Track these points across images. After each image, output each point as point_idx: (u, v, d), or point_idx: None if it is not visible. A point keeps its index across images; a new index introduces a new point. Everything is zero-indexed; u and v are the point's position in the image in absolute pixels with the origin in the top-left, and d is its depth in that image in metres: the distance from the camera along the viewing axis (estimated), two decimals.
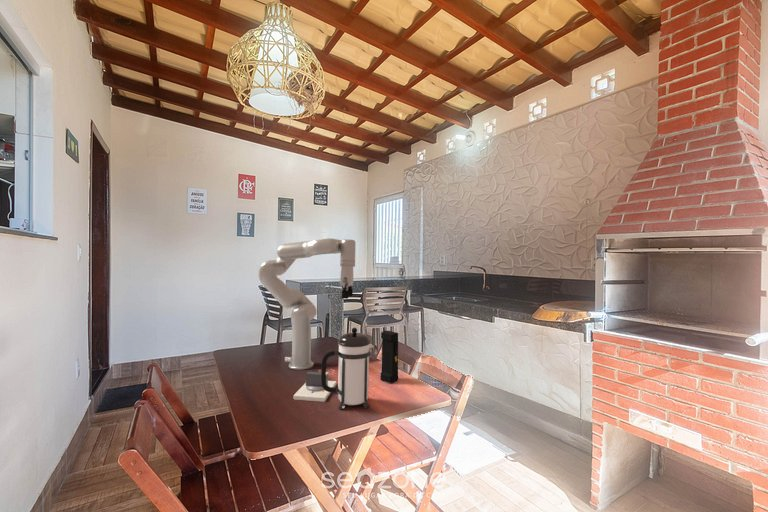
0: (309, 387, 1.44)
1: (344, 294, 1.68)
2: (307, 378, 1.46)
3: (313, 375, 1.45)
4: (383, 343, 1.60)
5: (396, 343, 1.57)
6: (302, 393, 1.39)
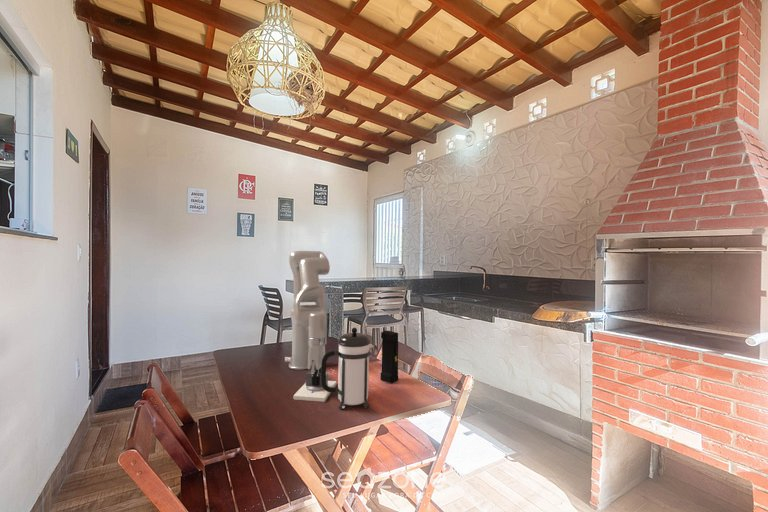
0: (309, 387, 1.44)
1: (314, 381, 1.44)
2: (307, 378, 1.46)
3: None
4: (383, 343, 1.60)
5: (396, 343, 1.57)
6: (302, 393, 1.39)
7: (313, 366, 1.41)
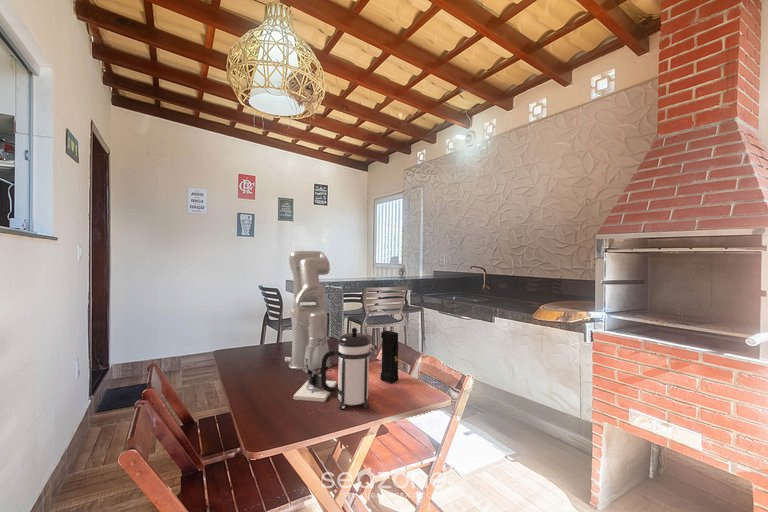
0: (308, 385, 1.46)
1: (311, 380, 1.44)
2: (309, 376, 1.48)
3: None
4: (383, 343, 1.60)
5: (396, 343, 1.57)
6: (302, 393, 1.39)
7: (305, 364, 1.43)
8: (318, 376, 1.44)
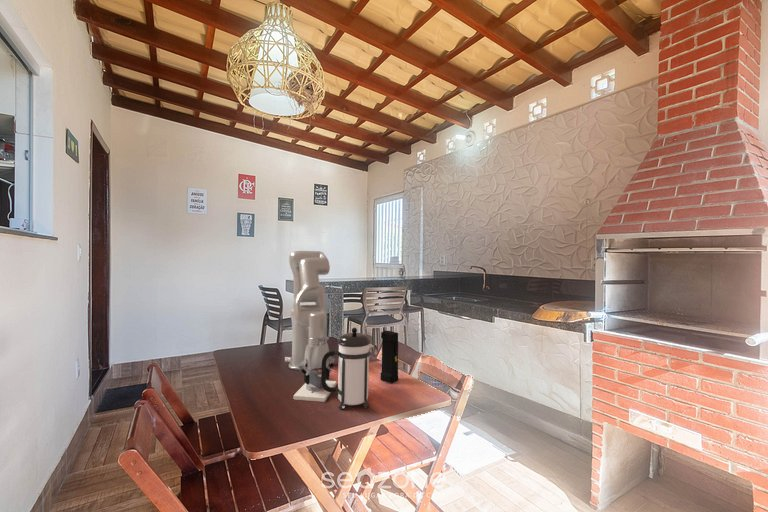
0: (308, 385, 1.46)
1: (304, 379, 1.43)
2: (310, 376, 1.48)
3: (313, 374, 1.46)
4: (383, 343, 1.60)
5: (396, 343, 1.57)
6: (302, 393, 1.39)
7: (303, 361, 1.42)
8: (317, 376, 1.44)
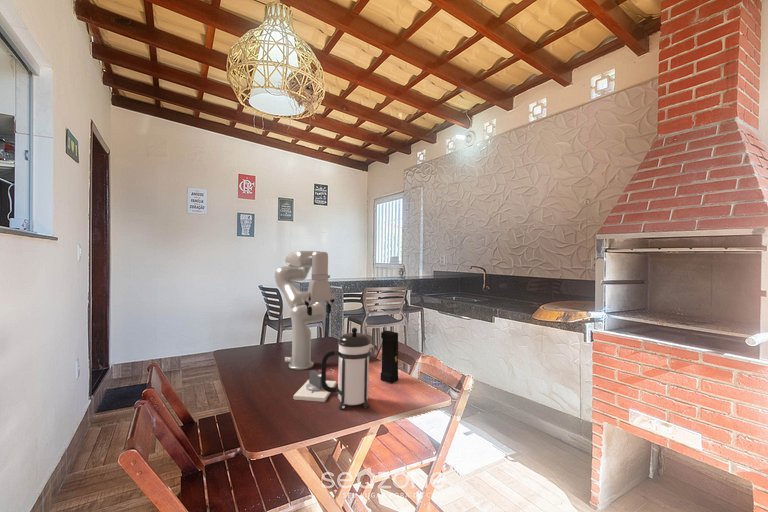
0: (308, 385, 1.46)
1: (307, 310, 1.57)
2: (310, 376, 1.48)
3: (313, 374, 1.46)
4: (383, 343, 1.60)
5: (396, 343, 1.57)
6: (302, 393, 1.39)
7: (307, 295, 1.56)
8: (317, 376, 1.44)
